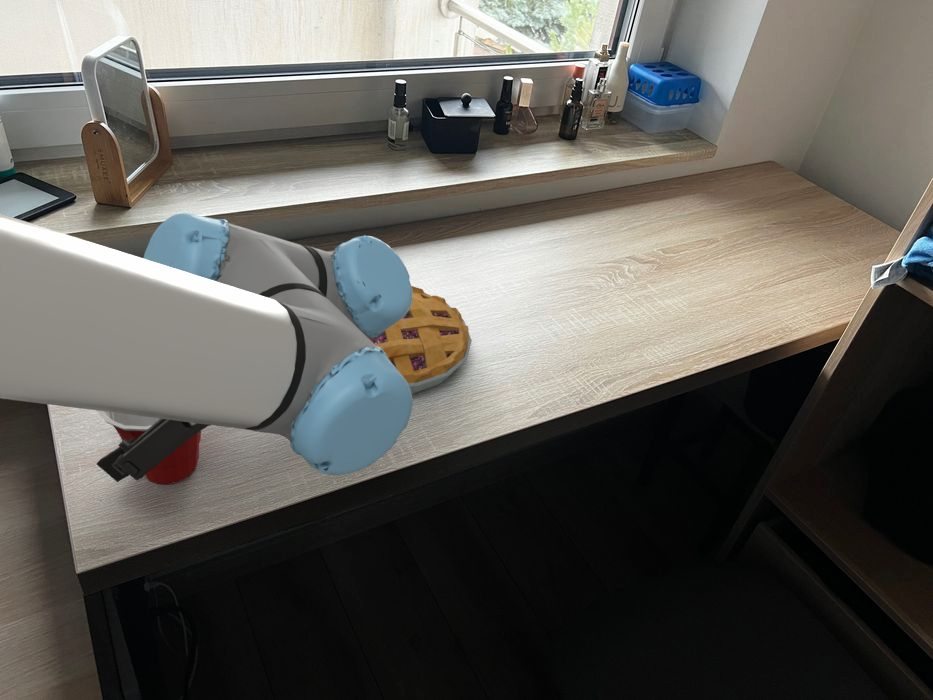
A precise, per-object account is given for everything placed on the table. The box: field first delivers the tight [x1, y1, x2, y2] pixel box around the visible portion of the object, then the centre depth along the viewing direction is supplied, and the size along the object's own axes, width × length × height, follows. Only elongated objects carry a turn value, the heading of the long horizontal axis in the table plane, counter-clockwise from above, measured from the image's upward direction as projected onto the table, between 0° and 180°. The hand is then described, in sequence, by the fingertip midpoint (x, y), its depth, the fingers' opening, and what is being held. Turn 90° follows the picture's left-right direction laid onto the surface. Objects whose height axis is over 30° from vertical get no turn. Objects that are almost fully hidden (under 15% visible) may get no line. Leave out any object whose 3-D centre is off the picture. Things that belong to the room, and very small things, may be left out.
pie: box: [370, 285, 472, 395], centre depth 98 cm, size 22×22×5 cm
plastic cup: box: [95, 410, 202, 485], centre depth 76 cm, size 11×11×12 cm
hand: (150, 425), depth 77 cm, fingers open, 13 cm apart
